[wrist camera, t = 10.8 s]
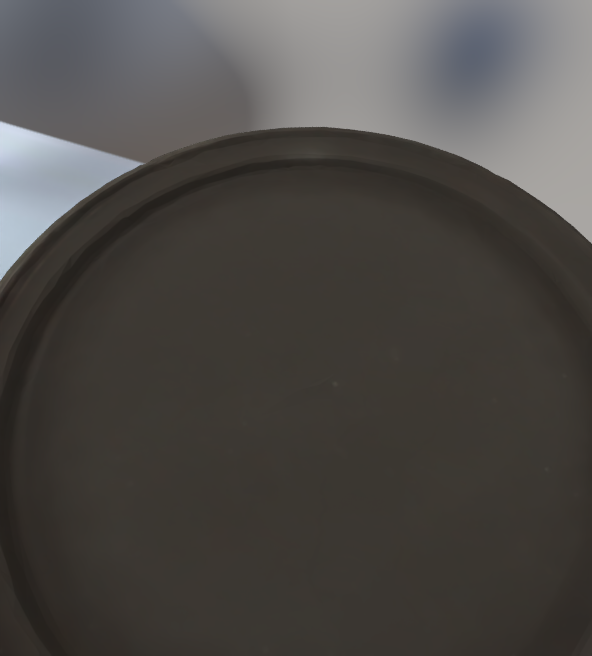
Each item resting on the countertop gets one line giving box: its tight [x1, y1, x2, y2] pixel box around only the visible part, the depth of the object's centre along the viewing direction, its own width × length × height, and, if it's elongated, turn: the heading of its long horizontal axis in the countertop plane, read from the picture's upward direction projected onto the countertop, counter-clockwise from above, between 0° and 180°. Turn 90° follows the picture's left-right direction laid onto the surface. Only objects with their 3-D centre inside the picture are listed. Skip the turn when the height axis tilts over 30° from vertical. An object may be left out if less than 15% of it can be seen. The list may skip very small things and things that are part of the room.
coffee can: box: [0, 127, 592, 656], centre depth 13 cm, size 10×10×14 cm
